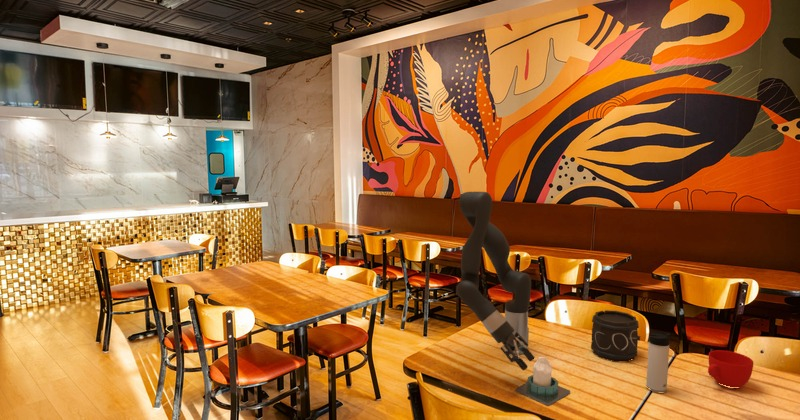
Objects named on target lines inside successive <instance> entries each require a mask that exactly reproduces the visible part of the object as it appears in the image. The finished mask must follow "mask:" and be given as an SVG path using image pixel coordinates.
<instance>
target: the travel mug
mask: <svg viewBox="0 0 800 420" xmlns="http://www.w3.org/2000/svg"><path fill="white" fill-rule="evenodd" d="M671 337H672V335H671V334H670V333H669V332H663V331H655V332H651V333H649V336H648V351H647V366H646V367H647V368H646V382H645V383H646V384H645V385H646V386H647V387H648V388H650V389H651V391H652V392H651V391H650V392H651V393H654V392H665V391H666V392H667V391H668V390H667V388H668V375H669V374H668V373H669V360H670V358H669V356H670V341H671V340H670V339H671ZM646 386H645V387H646ZM666 392H665V393H666Z"/></svg>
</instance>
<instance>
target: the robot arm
mask: <svg viewBox="0 0 800 420" xmlns="http://www.w3.org/2000/svg"><path fill="white" fill-rule="evenodd" d="M458 205H459V209H460V211H461V214H462V215H463V217H464V218H465V219H466V221H467V222H468V224H469V226H470V227H471V228H472V231H471V233H470V235H469V236H468V237H467V239H466V241H465V243H464V245H463V247H462V251H461V258H460V271H461V276H460V281H459V283H458V284H457V287H456V295H457V296H458V297H459V298H460V299H461V301H462V302H463V303H464V304H465V305H466V306H467V307H468V308H469V309H470V310H471V311H472V312H473V313H474V314H475V316H476V317H477V318H478V320H479V321H480V322H481V324H482V325H483V326H484V328H485V329H486V331H487V332H488V333H489V334H490V336H491V337H493V339H494V340H495V342H497V344H501V343H502V344H503V345H502V346H501V347H500V350H501V352H502V353H503V354H504V355H505V357H506V358H507V359H508V360H509V361H510V363H516V364H517V366H518V367H519V368H520V369H521V370H522V371H525V370H526V369H528V368H529V367H528V366H529V365H527V363H526V362H525V361H524V360H523V358H521V356H520V355H524V357H526V359H527V361H529V362H532V361H533V360H535V355H533V353H532V352H531V351H530V350H529V335H530V333H529V332H530V329H529V326H528V324H529V306H530V303H531V293H532V292H531V291H532V279H531V276H530V275H529V274H528V273H527V272H522V271H518V270H514V269H513V268H512V267H511V265H510V263H509V260H508V259H509V257H510V254H511V253H510V252H511V249H510V245H509V242H508V240H507V238H506V236H505V235H504V233H503V232H502V231H501V230H500V229H499V228H498V227H496V226H495V225H494V224H493V223H492V222H490V219H491V214H492V210H493V198H492V196H491V194H490V193H489V192H487V191H466V192H462V194H461V195H460V196H459V199H458ZM483 250H484V251H485V253H486V255H487V257H488V259H489V260H490V262H491V264H492V266H493V269H494V270H495V272H496V274H497V275H496V276H497V279H498V281H499V284H500V285H501V288H502V289H503V290H504V291H506V292H507V293H510V294H514V299H512V300H507V301H506V302H505V304H504V315H502V313H501V312H500V311H499V310H497V307H495V306H494V304H493V303H492V302H491V301H490V300H489V299H488V298H486V297H484V295H483V294H482V293H481V291H480V290H479V288H480V287H479V286H480V284H479V283H480V268H481V260H482V252H483Z"/></svg>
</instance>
